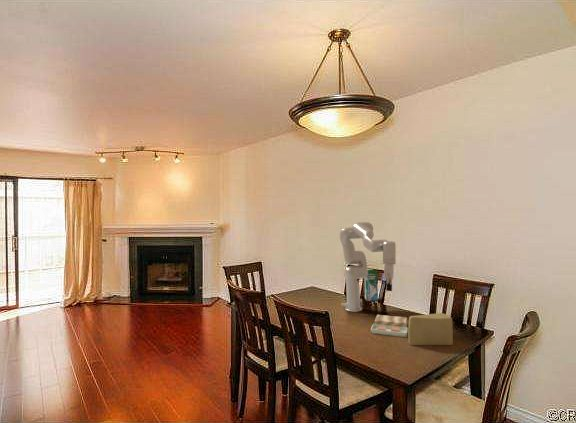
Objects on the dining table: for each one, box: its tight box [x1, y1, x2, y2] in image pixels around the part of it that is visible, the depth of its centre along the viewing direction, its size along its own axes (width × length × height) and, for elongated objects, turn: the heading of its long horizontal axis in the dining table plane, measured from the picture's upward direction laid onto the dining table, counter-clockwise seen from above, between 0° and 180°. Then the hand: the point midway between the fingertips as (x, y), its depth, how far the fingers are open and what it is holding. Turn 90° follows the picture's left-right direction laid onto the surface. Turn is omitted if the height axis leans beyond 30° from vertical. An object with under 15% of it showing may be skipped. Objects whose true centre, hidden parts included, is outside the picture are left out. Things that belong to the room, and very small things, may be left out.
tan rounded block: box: [407, 312, 454, 346], centre depth 176 cm, size 22×10×15 cm, turn 95°
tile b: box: [391, 327, 400, 332], centre depth 192 cm, size 4×4×2 cm
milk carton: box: [363, 268, 379, 302], centre depth 267 cm, size 9×9×25 cm
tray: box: [370, 323, 409, 338], centre depth 193 cm, size 20×10×2 cm, turn 67°
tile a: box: [377, 326, 386, 331], centre depth 194 cm, size 4×4×2 cm
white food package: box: [374, 314, 408, 327], centre depth 204 cm, size 18×12×4 cm, turn 67°
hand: (389, 290), depth 204 cm, fingers closed
